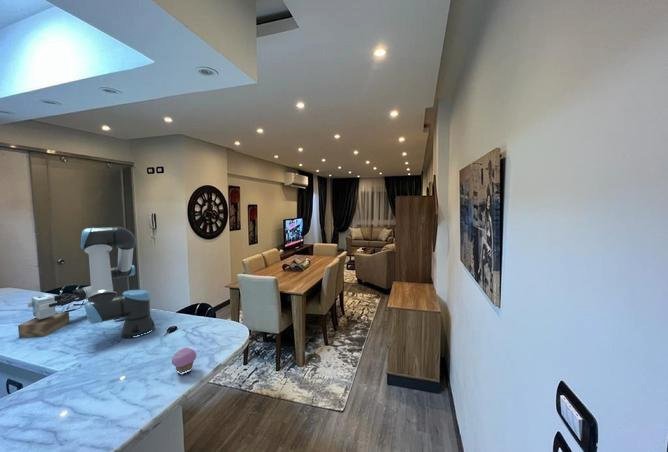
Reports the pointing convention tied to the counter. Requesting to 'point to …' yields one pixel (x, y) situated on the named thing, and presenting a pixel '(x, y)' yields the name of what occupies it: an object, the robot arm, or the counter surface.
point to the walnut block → (43, 325)
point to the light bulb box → (40, 301)
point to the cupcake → (184, 359)
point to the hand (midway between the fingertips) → (33, 306)
